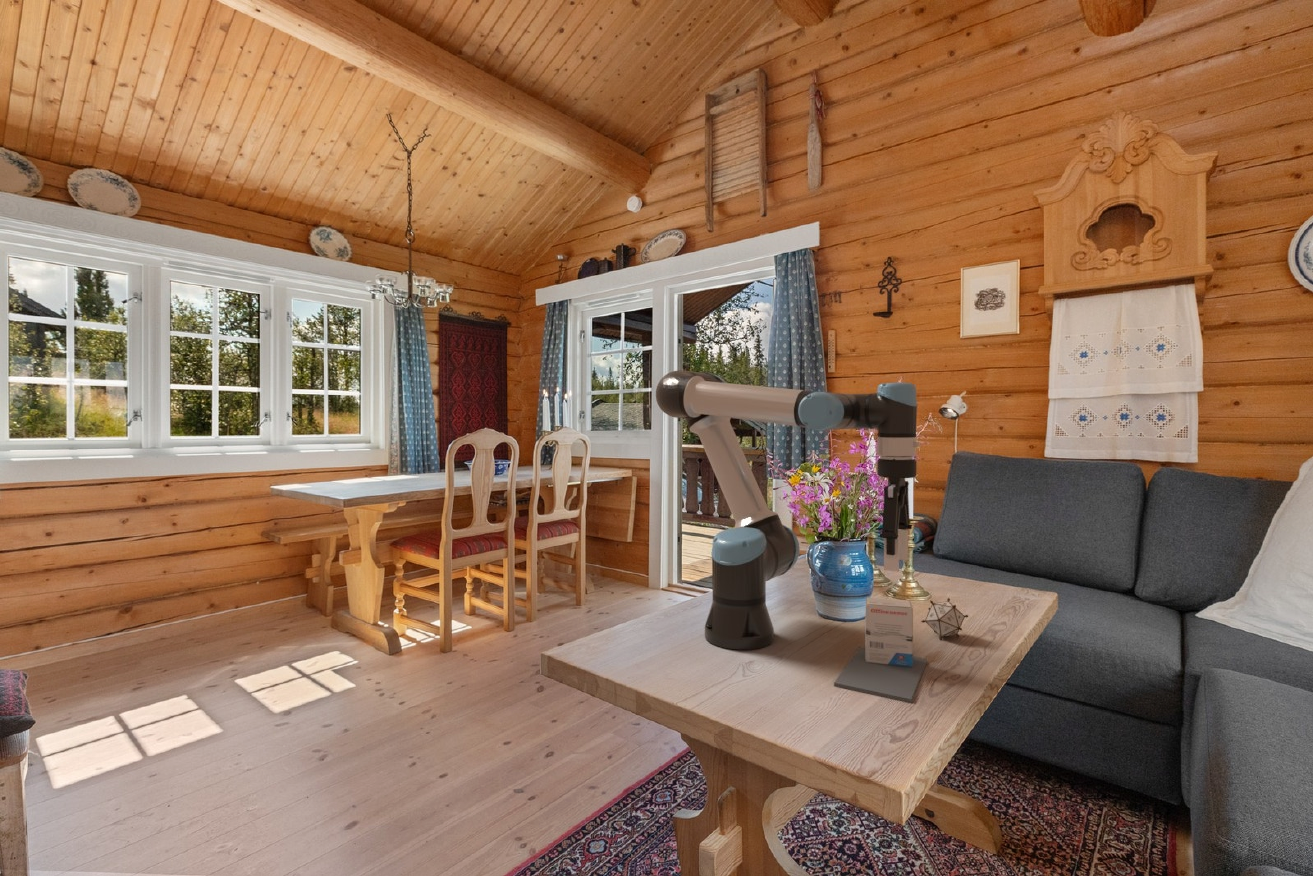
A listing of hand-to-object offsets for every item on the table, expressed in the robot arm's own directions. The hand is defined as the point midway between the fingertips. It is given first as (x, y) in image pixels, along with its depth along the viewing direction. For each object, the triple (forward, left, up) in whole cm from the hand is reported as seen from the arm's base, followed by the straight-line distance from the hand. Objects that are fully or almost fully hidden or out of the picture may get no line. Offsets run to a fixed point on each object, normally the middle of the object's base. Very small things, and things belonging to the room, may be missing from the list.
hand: (896, 564), depth 126 cm
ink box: (0, -9, -17) cm, 19 cm away
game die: (+8, +13, -18) cm, 24 cm away
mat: (0, -14, -18) cm, 22 cm away
